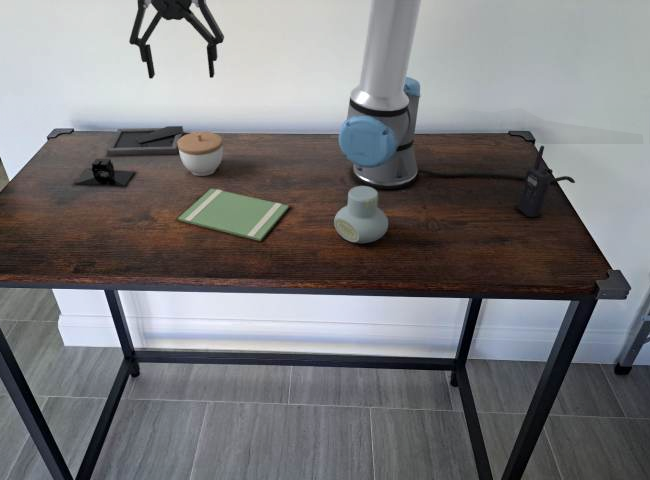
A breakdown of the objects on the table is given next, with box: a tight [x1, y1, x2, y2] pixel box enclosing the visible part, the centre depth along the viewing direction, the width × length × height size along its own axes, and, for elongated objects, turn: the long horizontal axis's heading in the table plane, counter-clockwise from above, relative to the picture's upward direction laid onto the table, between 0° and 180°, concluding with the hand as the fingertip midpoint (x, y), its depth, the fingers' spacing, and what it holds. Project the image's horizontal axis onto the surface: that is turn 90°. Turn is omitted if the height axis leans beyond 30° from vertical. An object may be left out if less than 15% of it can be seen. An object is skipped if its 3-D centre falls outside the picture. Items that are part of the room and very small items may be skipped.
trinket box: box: [177, 131, 224, 177], centre depth 135 cm, size 11×11×9 cm
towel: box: [177, 188, 290, 242], centre depth 122 cm, size 20×14×1 cm
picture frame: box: [106, 125, 184, 157], centre depth 150 cm, size 13×2×18 cm
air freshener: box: [333, 185, 389, 244], centre depth 112 cm, size 11×8×10 cm
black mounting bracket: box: [75, 158, 135, 188], centre depth 135 cm, size 12×7×5 cm, turn 83°
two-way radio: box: [517, 145, 554, 218], centre depth 116 cm, size 6×4×15 cm
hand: (182, 76), depth 125 cm, fingers open, 13 cm apart
